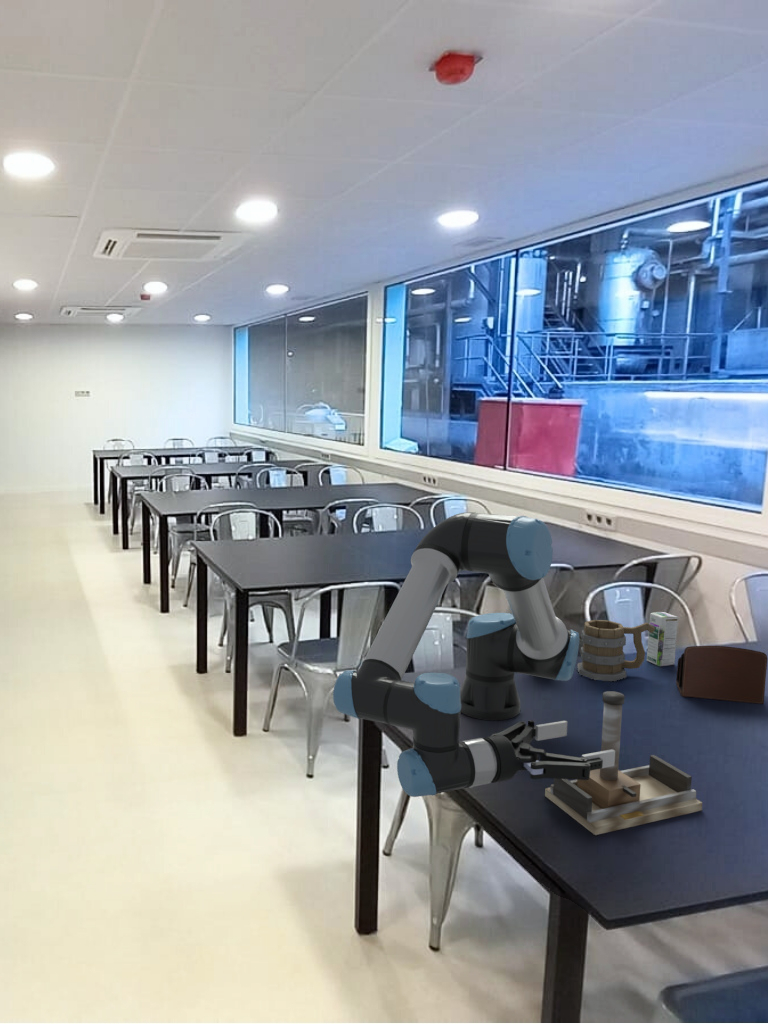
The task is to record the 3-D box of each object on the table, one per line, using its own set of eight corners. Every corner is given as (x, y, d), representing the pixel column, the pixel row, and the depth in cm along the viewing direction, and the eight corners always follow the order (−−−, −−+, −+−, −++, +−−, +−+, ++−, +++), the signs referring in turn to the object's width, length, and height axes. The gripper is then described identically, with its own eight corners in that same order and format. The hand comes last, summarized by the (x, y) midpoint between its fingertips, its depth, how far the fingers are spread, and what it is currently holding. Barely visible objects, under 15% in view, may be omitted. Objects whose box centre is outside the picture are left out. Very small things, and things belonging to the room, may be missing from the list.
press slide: (617, 818, 141) (623, 711, 138) (576, 789, 151) (582, 689, 149) (648, 811, 143) (655, 706, 141) (607, 783, 154) (613, 684, 151)
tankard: (580, 679, 218) (583, 625, 216) (575, 665, 230) (578, 614, 228) (656, 684, 215) (660, 630, 213) (647, 669, 228) (651, 617, 226)
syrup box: (645, 660, 236) (648, 612, 234) (662, 659, 238) (665, 611, 236) (658, 666, 230) (662, 617, 228) (675, 664, 232) (679, 616, 230)
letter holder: (764, 705, 203) (768, 650, 201) (681, 697, 207) (684, 644, 205) (754, 691, 212) (759, 639, 210) (675, 684, 216) (679, 633, 214)
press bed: (595, 835, 138) (596, 805, 138) (544, 795, 152) (546, 768, 151) (701, 810, 148) (703, 782, 147) (645, 775, 162) (647, 749, 161)
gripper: (450, 752, 148) (547, 735, 157) (526, 815, 126) (634, 792, 134) (452, 713, 147) (549, 698, 156) (528, 770, 125) (637, 749, 133)
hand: (588, 742), depth 145 cm, fingers open, 13 cm apart
